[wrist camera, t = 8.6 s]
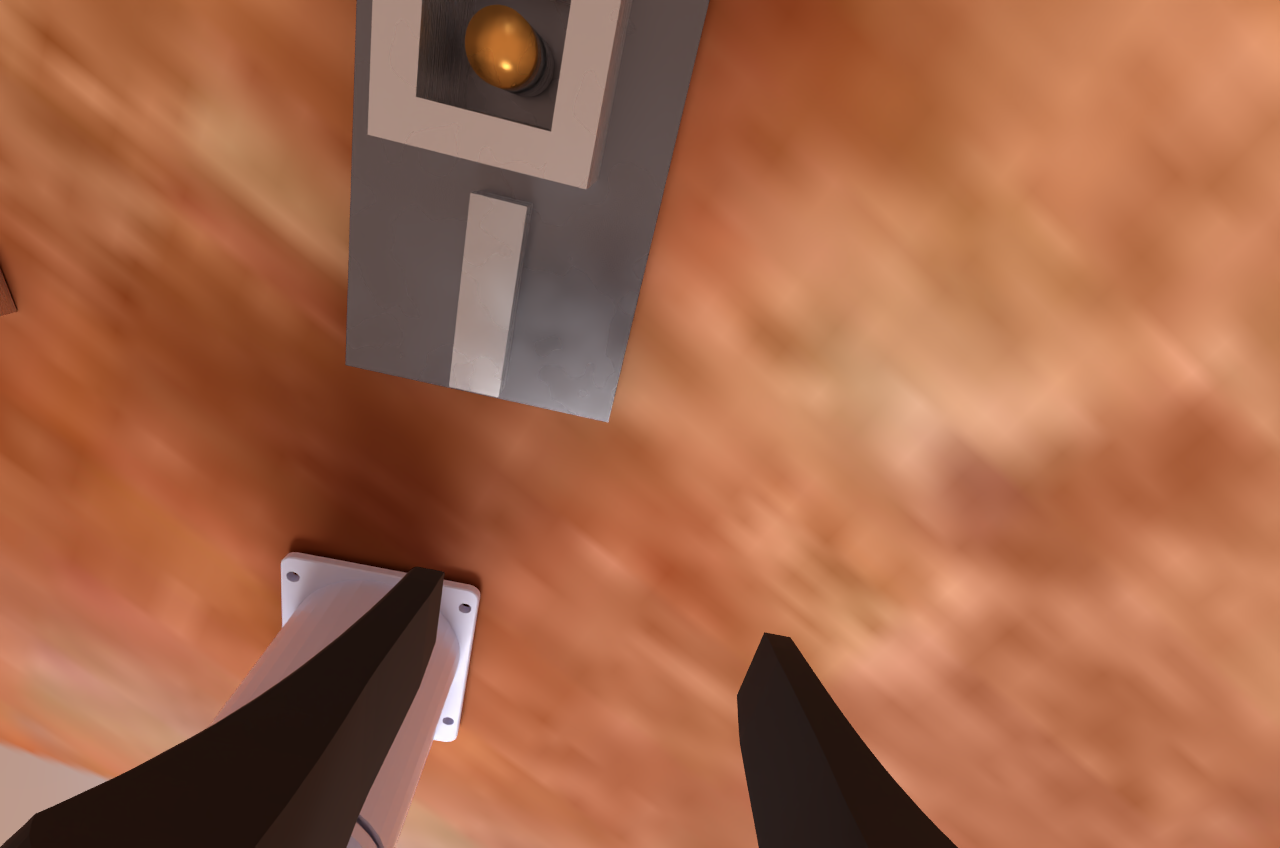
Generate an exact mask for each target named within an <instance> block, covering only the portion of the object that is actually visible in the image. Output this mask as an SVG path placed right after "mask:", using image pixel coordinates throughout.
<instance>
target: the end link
mask: <svg viewBox="0 0 1280 848" xmlns="http://www.w3.org/2000/svg"><path fill="white" fill-rule="evenodd" d="M552 1H555V2H559V3H562V4H566V5H570V12H569V18H568V25H567V31H566V38H565V44H564V51H563V57H562V64H561V70H560V77H559V83H558V90H557V96H556V103H555V109H554V115H553V122H552V128H551V129H547V128H543V127H539V126H535V125H532V124H528V123H524V122H520V121H516V120H512V119H508V118H504V117H501V116H497V115H493V114H489V113H485V112H481V111H477V110H474V109H470V108H466V107H465V105H466V95H467V85H468V74H469V64H470V63H469V61H468V58H467V55H466V50H465V35H466V30H467V27H468V24H469V22H470V20H471V19H472V17H473V16H474V13H475V3H476V0H373V1H372V28H371V56H370V83H369V111H368V135H371V136H375V137H379V138H383V139H387V140H391V141H395V142H399V143H403V144H407V145H411V146H415V147H419V148H423V149H427V150H431V151H435V152H439V153H443V154H447V155H451V156H455V157H459V158H463V159H467V160H471V161H475V162H479V163H483V164H487V165H491V166H495V167H499V168H503V169H507V170H511V171H515V172H519V173H523V174H527V175H531V176H535V177H539V178H543V179H547V180H551V181H555V182H559V183H563V184H567V185H571V186H575V187H579V188H583V189H587V188H589V187H590V186H591V185H593V184H594V183H595V182H597V181H598V178H599V173H600V168H601V163H602V157H603V152H604V147H605V142H606V136H607V131H608V126H609V121H610V115H611V110H612V105H613V100H614V94H615V89H616V84H617V79H618V73H619V68H620V63H621V58H622V52H623V47H624V42H625V37H626V31H627V26H628V21H629V16H630V10H631V5H632V0H552Z"/></svg>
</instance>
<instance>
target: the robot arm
mask: <svg viewBox="0 0 1280 848" xmlns="http://www.w3.org/2000/svg"><path fill="white" fill-rule="evenodd" d="M293 572H295V573H297V574H298V575H299V576H298V575H295V574H294V573H293ZM444 573H445V572H442V571H437V570H431V569H426V568H421V567H414V568H413V569H411V570H410V571H409V572H408V573H405V572H400V571H395V570H389V569H384V568H379V567H374V566H368V565H363V564H358V563H352V562H347V561H342V560H336V559H331V558H326V557H320V556H315V555H310V554H304V553H299V552H291V553H288V554H287V555H286V556H285V557H284V559H283V560H282V561H281V598H282V629H281V630H280V632H279V633H278V634H277V636H276V637H275V638H274V640H273V641H272V642H271V644H270V645H269V646H268V648H267V649H266V650H265V652H264V653H263V654H262V656H261V657H260V658H259V660H258V661H257V662H256V664H255V665H254V666H253V668H252V669H251V670H250V672H249V673H248V674H247V676H246V677H245V678H244V680H243V681H242V682H241V684H240V685H239V686H238V688H237V689H236V690H235V692H234V693H233V694H232V696H231V697H230V698H229V700H228V701H227V702H226V704H225V705H224V707H223V708H222V709H221V711H220V712H219V713H218V715H217V716H216V717H215V719H214V720H213V721H212V723H211V724H210V725H209V727H208V728H207V729H205V730H203V731H202V732H200V733H198V734H196V735H195V736H193V737H191V738H189V739H187V740H185V741H184V742H182V743H180V744H178V745H176V746H174V747H172V748H171V749H169V750H167V751H165V752H163V753H161V754H159V755H158V756H156V757H154V758H152V759H150V760H148V761H146V762H145V763H143V764H141V765H139V766H137V767H135V768H133V769H131V770H129V771H127V772H125V773H123V774H121V775H119V776H117V777H115V778H113V779H111V780H109V781H107V782H104V783H102V784H100V785H98V786H96V787H94V788H91V789H89V790H87V791H85V792H83V793H81V794H79V795H77V796H74V797H72V798H70V799H68V800H66V801H63V802H61V803H59V804H57V805H55V806H53V807H50V808H48V809H46V810H43V811H41V812H39V813H36V814H35V815H34V816H33V817H32V818H31V819H30V820H29V821H28V822H27V823H26V824H25V825H24V826H23V827H21V828H20V829H19V830H18V831H17V832H16V833H15V834H14V835H13V836H12V837H11V838H9V839H8V840H7V841H6V842H5V843H4V844H3V845H2V846H1V847H0V848H395V847H396V844H397V841H398V838H399V836H400V833H401V830H402V827H403V824H404V821H405V819H406V816H407V813H408V810H409V807H410V804H411V802H412V799H413V796H414V793H415V790H416V787H417V785H418V782H419V779H420V776H421V773H422V770H423V768H424V765H425V762H426V759H427V756H428V753H429V751H430V748H431V745H432V742H433V740H438V741H444V742H450V741H453V740H455V739H456V737H457V734H458V731H459V725H460V719H461V713H462V707H463V701H464V694H465V688H466V682H467V676H468V669H469V663H470V657H471V651H472V645H473V638H474V632H475V626H476V620H477V613H478V607H479V601H480V592H479V590H478V589H477V588H476V587H475V586H472V585H469V584H464V583H459V582H453V581H448V580H444ZM463 604H468V605H469V606H470V607H466V606H464V605H463ZM737 704H738V723H739V737H740V746H741V752H742V758H743V763H744V769H745V774H746V780H747V786H748V791H749V796H750V802H751V807H752V812H753V818H754V823H755V829H756V834H757V839H758V845H759V848H958V847H957V846H956V845H955V844H954V843H953V842H952V841H951V840H950V839H949V838H948V837H947V836H946V835H945V834H944V833H943V832H942V831H941V830H940V829H939V828H938V827H937V826H936V825H935V824H934V823H933V822H932V821H931V820H930V819H929V818H928V817H927V816H926V815H925V814H924V813H923V812H922V811H921V809H920V808H919V807H918V806H917V805H916V804H915V803H914V802H913V800H912V799H911V798H910V797H909V796H908V795H907V794H906V793H905V791H904V790H903V789H902V788H901V787H900V786H899V785H898V784H897V782H896V781H895V780H894V779H893V778H892V777H891V775H890V774H889V773H888V772H887V771H886V769H885V768H884V767H883V766H882V765H881V763H880V762H879V761H878V759H877V758H876V757H875V756H874V754H873V753H872V752H871V751H870V749H869V748H868V747H867V746H866V744H865V743H864V742H863V740H862V739H861V738H860V736H859V735H858V734H857V732H856V731H855V730H854V728H853V727H852V726H851V724H850V723H849V722H848V720H847V719H846V718H845V716H844V715H843V713H842V712H841V711H840V709H839V708H838V706H837V705H836V704H835V702H834V701H833V699H832V698H831V696H830V695H829V694H828V692H827V691H826V689H825V688H824V686H823V685H822V683H821V682H820V680H819V679H818V677H817V676H816V674H815V673H814V672H813V670H812V669H811V667H810V666H809V664H808V663H807V661H806V660H805V658H804V657H803V655H802V654H801V652H800V651H799V649H798V648H797V646H796V645H795V643H794V642H793V641H792V639H791V638H790V637H786V636H780V635H775V634H770V633H765V632H764V635H763V637H762V639H761V642H760V644H759V646H758V649H757V651H756V653H755V655H754V658H753V660H752V662H751V665H750V667H749V669H748V671H747V674H746V676H745V678H744V681H743V683H742V685H741V688H740V690H739V692H738V694H737Z"/></svg>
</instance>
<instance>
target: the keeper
mask: <svg viewBox="0 0 1280 848" xmlns="http://www.w3.org/2000/svg"><path fill="white" fill-rule="evenodd" d="M372 1H373V0H357V8H356V40H355V73H354V105H353V138H352V170H351V203H350V235H349V268H348V300H347V333H346V365H348V366H352V367H357V368H361V369H366V370H371V371H375V372H380V373H384V374H389V375H393V376H398V377H403V378H407V379H412V380H416V381H421V382H426V383H430V384H435V385H439V386H444V387H448V388H453V389H458V390H462V391H467V392H471V393H476V394H480V395H485V396H490V397H494V398H499V399H503V400H508V401H512V402H517V403H522V404H526V405H531V406H535V407H540V408H545V409H549V410H554V411H558V412H563V413H567V414H572V415H577V416H581V417H586V418H590V419H595V420H599V421H604V422H608V421H609V417H610V413H611V409H612V405H613V401H614V396H615V392H616V388H617V384H618V380H619V376H620V371H621V367H622V363H623V359H624V355H625V350H626V346H627V342H628V338H629V334H630V330H631V325H632V321H633V317H634V313H635V309H636V305H637V300H638V296H639V292H640V288H641V284H642V280H643V275H644V271H645V267H646V263H647V259H648V255H649V250H650V246H651V242H652V238H653V234H654V230H655V225H656V221H657V217H658V213H659V209H660V204H661V200H662V196H663V192H664V188H665V184H666V179H667V175H668V171H669V167H670V163H671V159H672V154H673V150H674V146H675V142H676V138H677V134H678V129H679V125H680V121H681V117H682V113H683V109H684V104H685V100H686V96H687V92H688V88H689V84H690V79H691V75H692V71H693V67H694V63H695V58H696V54H697V50H698V46H699V42H700V38H701V33H702V29H703V25H704V21H705V17H706V13H707V8H708V4H709V0H632V5H631V10H630V16H629V21H628V26H627V31H626V37H625V42H624V47H623V52H622V58H621V63H620V68H619V73H618V79H617V84H616V89H615V94H614V100H613V105H612V110H611V115H610V121H609V126H608V131H607V136H606V142H605V147H604V152H603V157H602V163H601V168H600V173H599V178H598V181H597V182H595V183H594V184H593V185H591V186H590V187H589V188H587V189H583V188H579V187H575V186H571V185H567V184H563V183H559V182H555V181H551V180H547V179H543V178H539V177H535V176H531V175H527V174H523V173H519V172H515V171H511V170H507V169H503V168H499V167H495V166H491V165H487V164H483V163H479V162H475V161H471V160H467V159H463V158H459V157H455V156H451V155H447V154H443V153H439V152H435V151H431V150H427V149H423V148H419V147H415V146H411V145H407V144H403V143H399V142H395V141H391V140H387V139H383V138H379V137H375V136H371V135H368V111H369V83H370V56H371V28H372ZM569 12H570V5H566V4H562V3H559V2H555V1H552V0H476V3H475V13H474V16H473V17H472V19H471V20H470V22H469V24H468V27H467V30H466V35H465V50H466V55H467V58H468V61H469V63H470V64H469V74H468V85H467V95H466V105H465V107H466V108H470V109H474V110H477V111H481V112H485V113H489V114H493V115H497V116H501V117H504V118H508V119H512V120H516V121H520V122H524V123H528V124H532V125H535V126H539V127H543V128H547V129H551V128H552V122H553V115H554V109H555V103H556V96H557V90H558V83H559V77H560V70H561V64H562V57H563V51H564V44H565V38H566V31H567V25H568V18H569Z"/></svg>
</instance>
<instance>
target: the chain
mask: <svg viewBox="0 0 1280 848" xmlns="http://www.w3.org/2000/svg"><path fill="white" fill-rule="evenodd" d="M14 312H17V310H16V307H15V304H14V302H13V299H12V297H11V294H10V292H9V289H8V286H7V284H6V281H5V279H4V276H3V274H2V271H1V268H0V316H3V315H6V314H10V313H14Z"/></svg>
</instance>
